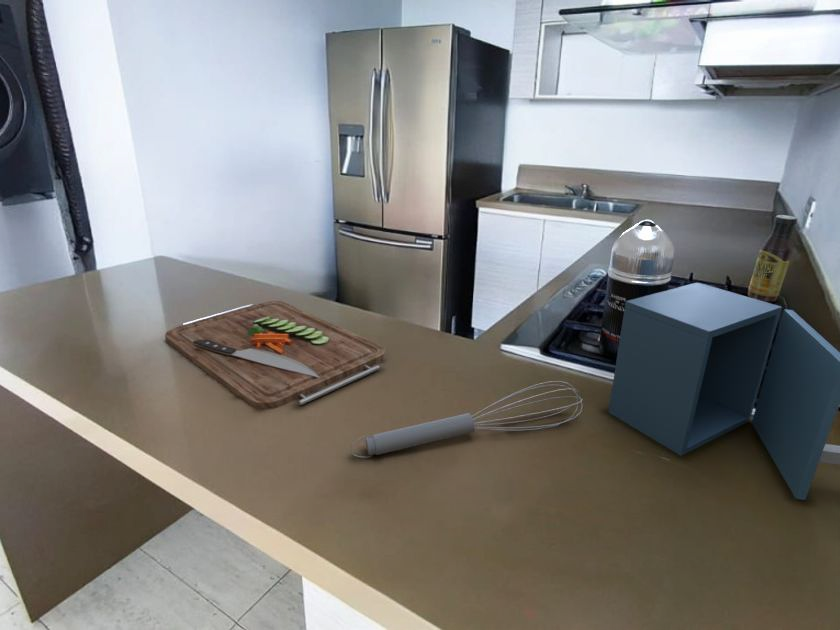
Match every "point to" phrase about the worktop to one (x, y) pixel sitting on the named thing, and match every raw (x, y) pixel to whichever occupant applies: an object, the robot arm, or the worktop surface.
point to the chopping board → (275, 352)
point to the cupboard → (691, 363)
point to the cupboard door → (799, 403)
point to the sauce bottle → (773, 261)
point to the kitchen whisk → (448, 427)
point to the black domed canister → (634, 276)
